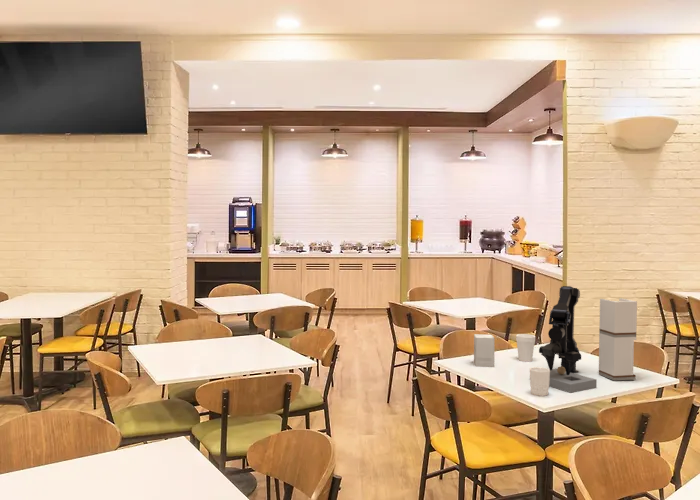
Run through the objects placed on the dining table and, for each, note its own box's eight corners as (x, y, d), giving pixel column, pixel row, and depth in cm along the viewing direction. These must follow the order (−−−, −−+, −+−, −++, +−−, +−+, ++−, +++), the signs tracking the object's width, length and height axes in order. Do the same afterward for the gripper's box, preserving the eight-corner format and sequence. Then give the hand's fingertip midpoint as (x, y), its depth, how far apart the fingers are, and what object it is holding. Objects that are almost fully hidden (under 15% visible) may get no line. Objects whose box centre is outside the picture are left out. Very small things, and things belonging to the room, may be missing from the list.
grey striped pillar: (635, 379, 256) (637, 301, 255) (613, 380, 254) (615, 301, 253) (619, 373, 267) (620, 298, 266) (598, 374, 266) (599, 298, 264)
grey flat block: (555, 375, 262) (555, 368, 262) (596, 387, 243) (596, 379, 242) (529, 380, 254) (529, 372, 254) (570, 392, 235) (570, 384, 235)
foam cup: (537, 360, 293) (537, 335, 292) (532, 364, 285) (532, 338, 284) (518, 358, 298) (519, 333, 297) (513, 361, 290) (513, 336, 289)
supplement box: (492, 364, 285) (492, 334, 284) (494, 368, 276) (495, 337, 275) (473, 363, 286) (473, 333, 285) (475, 368, 277) (475, 337, 276)
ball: (568, 369, 251) (566, 373, 248) (562, 374, 253) (560, 377, 250) (562, 363, 252) (560, 366, 249) (556, 367, 254) (554, 371, 251)
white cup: (526, 391, 237) (526, 367, 237) (544, 390, 238) (545, 366, 238) (534, 396, 229) (534, 372, 229) (553, 396, 230) (553, 371, 230)
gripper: (530, 335, 254) (529, 370, 254) (563, 342, 237) (563, 379, 238) (548, 333, 259) (547, 367, 260) (582, 340, 242) (581, 376, 243)
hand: (559, 372), depth 250 cm, fingers open, 9 cm apart
